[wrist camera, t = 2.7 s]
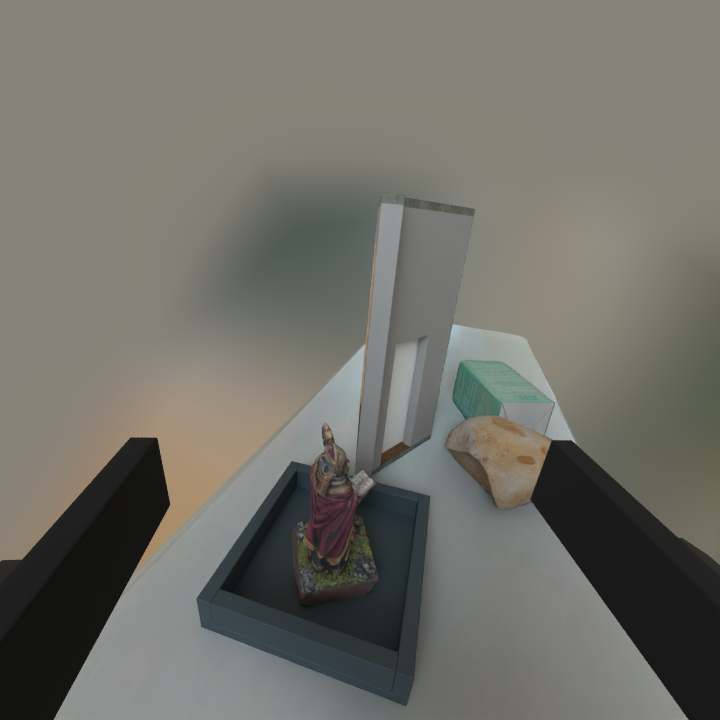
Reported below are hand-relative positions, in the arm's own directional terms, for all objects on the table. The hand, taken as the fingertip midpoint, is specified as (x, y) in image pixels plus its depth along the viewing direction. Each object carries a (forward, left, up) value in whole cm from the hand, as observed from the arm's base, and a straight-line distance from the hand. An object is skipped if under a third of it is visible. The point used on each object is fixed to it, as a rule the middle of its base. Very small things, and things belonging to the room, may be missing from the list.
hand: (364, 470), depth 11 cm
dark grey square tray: (-3, +9, -18) cm, 21 cm away
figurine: (-3, +9, -18) cm, 20 cm away
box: (+12, +37, -18) cm, 43 cm away
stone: (+12, +24, -18) cm, 33 cm away
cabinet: (-1, +28, -18) cm, 34 cm away
